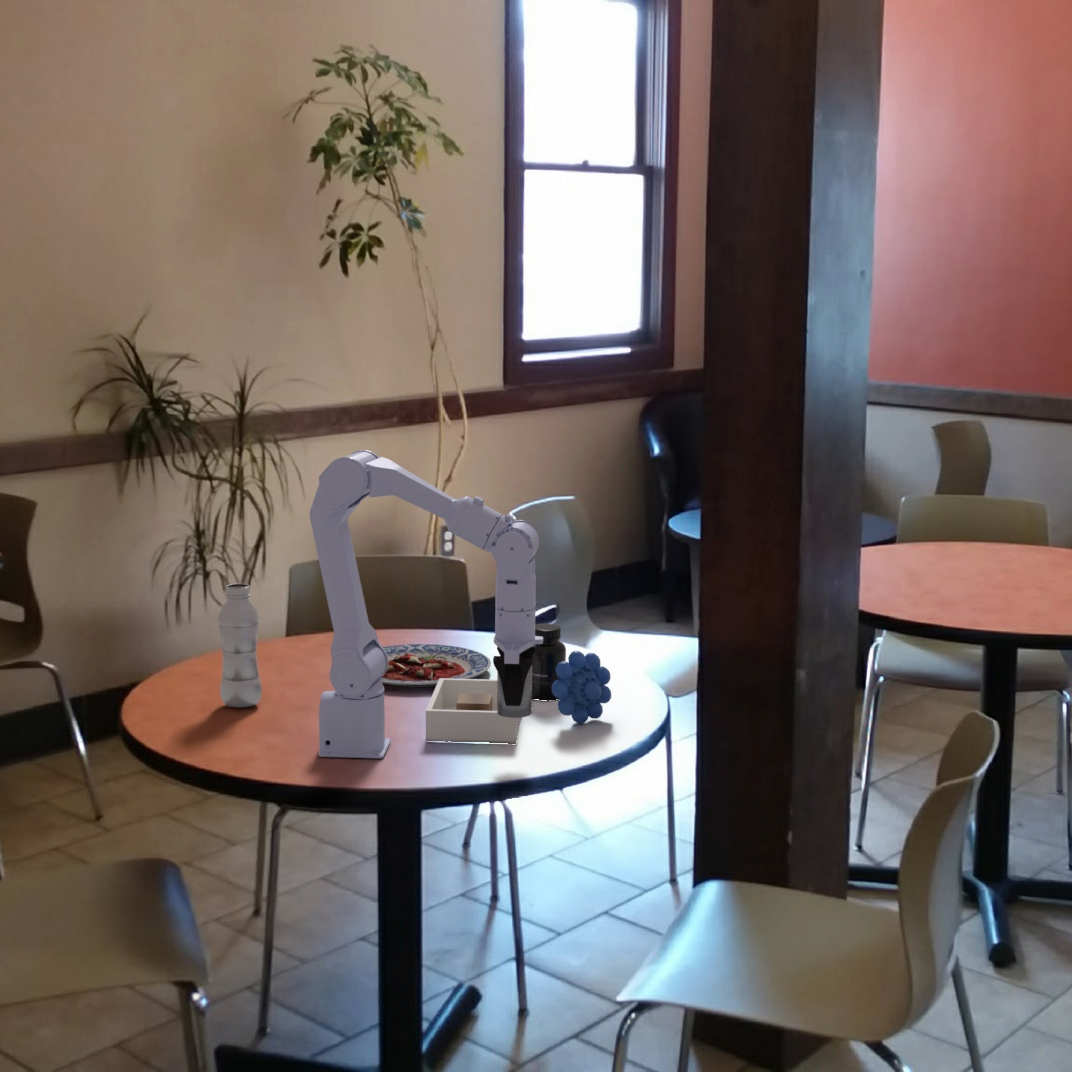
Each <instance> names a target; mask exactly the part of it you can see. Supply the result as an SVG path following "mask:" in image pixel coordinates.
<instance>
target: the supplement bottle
mask: <svg viewBox="0 0 1072 1072" xmlns="http://www.w3.org/2000/svg"><path fill="white" fill-rule="evenodd" d="M561 630H562V629H561V626H559V625H557V624H553V623H539V624H538V623H536V624H535V636H542V637H543V644H536V650H535V652H534V653H533V655H532V658H531V659H533V664H532V700H533V699H539V700H547V701H546V702H550V701H549V700H555V701H557V700H556V699H559V698H557V697H555V696H554V695H553V693H552V684H553V683H554V681H556V680H561V679H560V678H558V676H557V674H556V667H557V665H558V663H560V662H562V661H564V662H567V660H566V659H567V658H566V657H567V648H566V646H565V644H564V643H563V642H562V641H561V640H560V639H562V635H561V632H562V631H561ZM559 700H560V699H559Z"/></svg>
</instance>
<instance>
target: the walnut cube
mask: <svg viewBox="0 0 1072 1072" xmlns="http://www.w3.org/2000/svg"><path fill="white" fill-rule="evenodd" d="M456 710H478V711H492V695H490V694H460V695H459V698H458V700H457V703H456Z"/></svg>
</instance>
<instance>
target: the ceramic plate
mask: <svg viewBox="0 0 1072 1072" xmlns="http://www.w3.org/2000/svg"><path fill="white" fill-rule="evenodd" d="M382 647H383V649H384V650H385V652H386V653H387V656H388V668H387V671H386V673H385V674H384V675H383V676H382V677H381V681H382V684H384V685H389V686H395V687H396V686H397V687H403V688H404V687H407V688H421V687H422V688H423V687H425V688H426V686H428V687H436V686H435V685H437V683H438V681H439V678H450V679H473V678H475V677H478V676H480V675H483V674H484V673H486V672H487V671H488V670H489V669H490V667H491V665H492V662H491V659H490V658H489V657H488V656H487V655H485V654H483V653H482V652H479V651H476V650H474V649H469V648H466V647H461V646H455V645H447V644H436V643H435V644H434V643H432V644H431V643H429V644H427V643H408V644H398V645H397V644H396V645H394V644H393V645H387V646H382Z"/></svg>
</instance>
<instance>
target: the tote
mask: <svg viewBox="0 0 1072 1072" xmlns="http://www.w3.org/2000/svg"><path fill="white" fill-rule="evenodd" d="M460 694H490V695H492V711H478V710H456V703H457V700H458V698H459V695H460ZM520 721H522V717H520V718H509V717H503V716H500V715H499V714H497V679H483V678H482V679H481V678H478V679H477V678H469V679H450V678H439V681H438V683H437V685H436V686H435V688H434V690H433V693H432V694H431V697H430V699H429V703H428V704H427V707H426V708H425V742H426V741H445V742H448V741H451V742H489V743H508V744H516V745H517V742H518V737H519V732H520V727H519V726H521V722H520ZM518 731H519V732H518ZM517 736H518V737H517ZM516 741H517V742H516Z"/></svg>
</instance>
